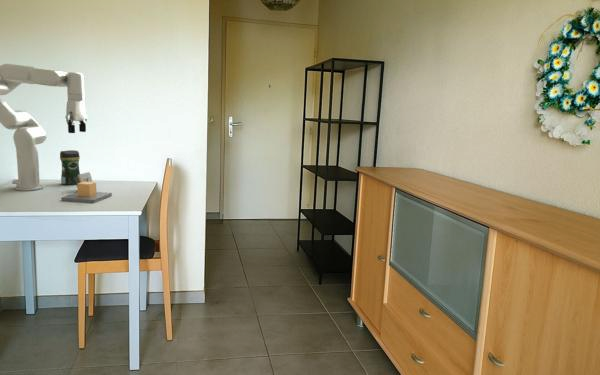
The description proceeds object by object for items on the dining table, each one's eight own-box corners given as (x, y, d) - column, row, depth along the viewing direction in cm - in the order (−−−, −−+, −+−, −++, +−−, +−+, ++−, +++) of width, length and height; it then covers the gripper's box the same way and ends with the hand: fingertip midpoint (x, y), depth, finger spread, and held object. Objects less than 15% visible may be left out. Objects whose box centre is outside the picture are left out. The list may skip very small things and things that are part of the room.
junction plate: (61, 200, 219) (60, 187, 218) (81, 193, 236) (81, 181, 234) (93, 203, 218) (93, 189, 216) (111, 195, 234) (111, 183, 233)
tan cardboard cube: (77, 195, 224) (77, 183, 223) (84, 193, 230) (84, 181, 228) (89, 196, 223) (89, 184, 222) (96, 194, 229) (96, 182, 228)
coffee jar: (76, 181, 265) (75, 149, 262) (83, 184, 260) (81, 150, 256) (59, 183, 258) (57, 150, 254) (64, 185, 253) (63, 151, 249)
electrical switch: (84, 192, 239) (81, 174, 237) (75, 192, 240) (72, 174, 238) (94, 189, 248) (92, 171, 247) (86, 189, 249) (83, 172, 247)
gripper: (78, 97, 241) (79, 131, 244) (58, 97, 224) (59, 133, 227) (92, 98, 240) (93, 131, 243) (73, 98, 223) (74, 134, 226)
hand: (77, 132), depth 235 cm, fingers open, 9 cm apart
